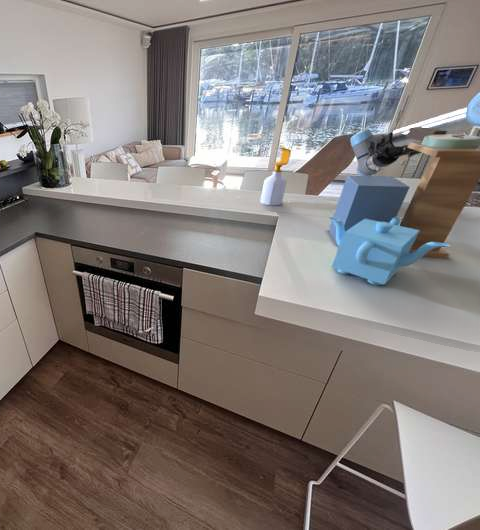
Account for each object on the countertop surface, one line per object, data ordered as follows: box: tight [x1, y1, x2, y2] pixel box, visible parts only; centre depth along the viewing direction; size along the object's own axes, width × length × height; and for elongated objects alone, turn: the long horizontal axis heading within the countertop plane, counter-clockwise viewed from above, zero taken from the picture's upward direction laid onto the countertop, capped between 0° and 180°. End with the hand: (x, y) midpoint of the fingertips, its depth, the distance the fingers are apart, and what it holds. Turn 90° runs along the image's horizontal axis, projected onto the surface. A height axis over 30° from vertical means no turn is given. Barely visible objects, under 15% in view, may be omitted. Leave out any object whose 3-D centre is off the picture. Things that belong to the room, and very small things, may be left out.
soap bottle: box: [259, 146, 291, 207], centre depth 128 cm, size 9×9×25 cm
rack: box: [398, 141, 480, 259], centre depth 85 cm, size 16×14×30 cm
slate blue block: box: [328, 175, 411, 247], centre depth 92 cm, size 12×12×20 cm
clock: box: [406, 127, 480, 148], centre depth 82 cm, size 22×11×3 cm, turn 167°
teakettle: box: [328, 216, 451, 286], centre depth 77 cm, size 19×19×15 cm
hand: (416, 135), depth 97 cm, fingers open, 13 cm apart
